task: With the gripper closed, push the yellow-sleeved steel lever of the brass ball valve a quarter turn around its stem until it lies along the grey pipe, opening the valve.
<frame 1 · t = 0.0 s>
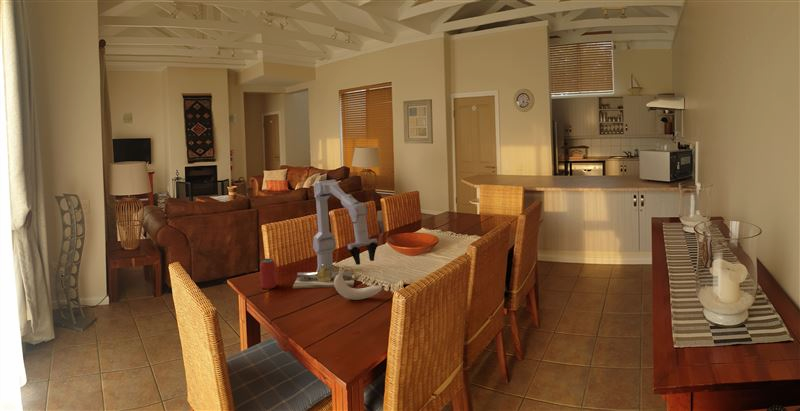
hand: (365, 262, 206), 11 cm above the table, tool pointing down, fingers open, 7 cm apart
valve: (324, 273, 213), on the valve board, point 4 cm above the table
banana: (358, 300, 192), on the table
beer can: (269, 287, 209), on the table
valve board: (325, 282, 213), on the table
lever: (322, 269, 207), point 8 cm above the table, hinge at 0.0°
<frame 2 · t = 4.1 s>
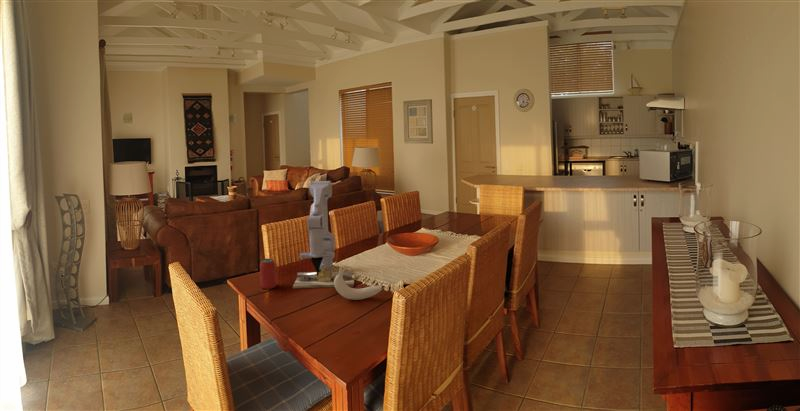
hand: (318, 274, 204), 7 cm above the table, tool pointing down, fingers closed
lever: (322, 269, 207), point 8 cm above the table, hinge at 0.1°, touching gripper
everything else where it was.
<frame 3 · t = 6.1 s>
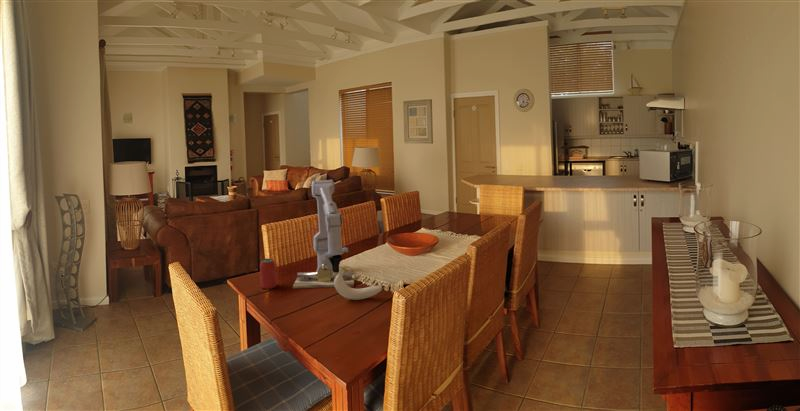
hand: (335, 271, 206), 7 cm above the table, tool pointing down, fingers closed, pressing on lever
lever: (333, 267, 209), point 8 cm above the table, hinge at 51.1°, touching gripper
everything else where it was.
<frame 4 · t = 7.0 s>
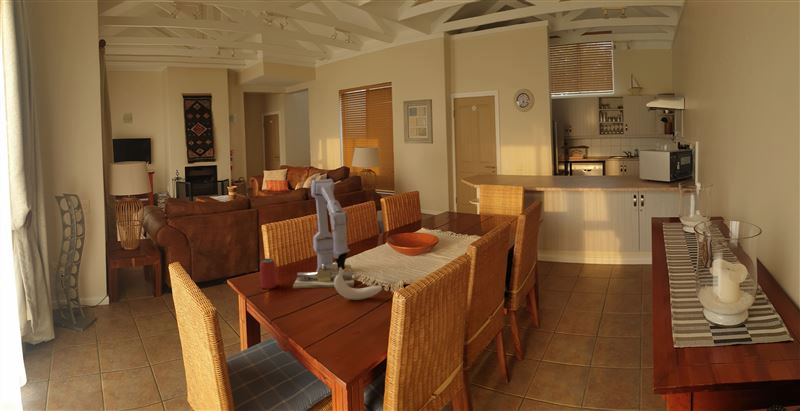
hand: (341, 269, 209), 7 cm above the table, tool pointing down, fingers closed, pressing on lever
lever: (335, 266, 211), point 8 cm above the table, hinge at 73.9°, touching gripper
everything else where it was.
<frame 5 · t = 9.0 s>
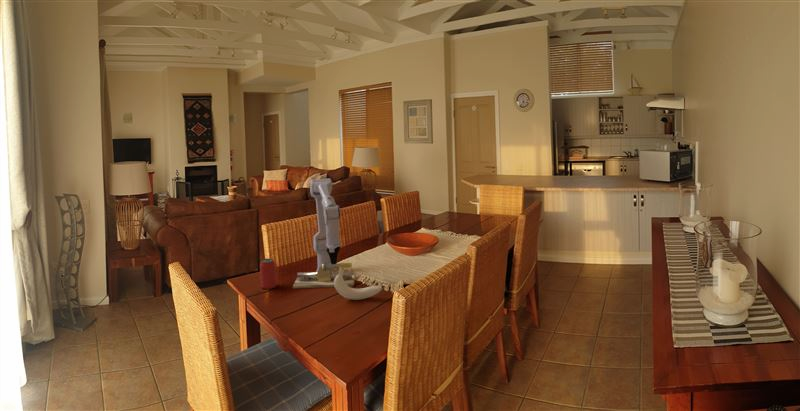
hand: (334, 263, 209), 9 cm above the table, tool pointing down, fingers closed
lever: (336, 265, 212), point 8 cm above the table, hinge at 87.5°
everything else where it was.
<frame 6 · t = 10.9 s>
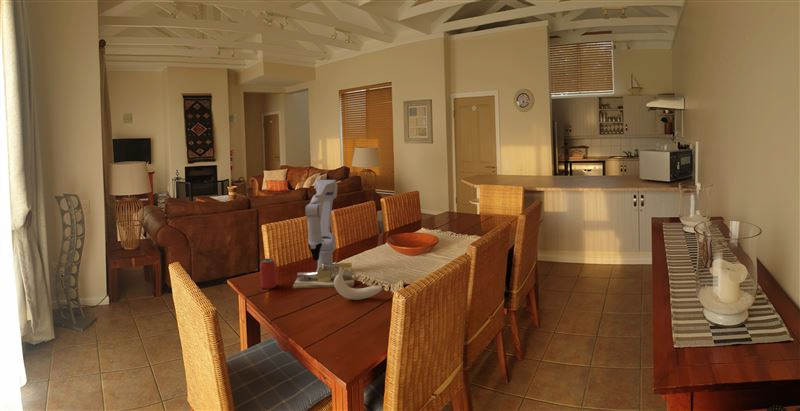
hand: (316, 260, 215), 9 cm above the table, tool pointing down, fingers closed
nothing on the table moved.
at the end: lever at +88° (first picture: +0°) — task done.
